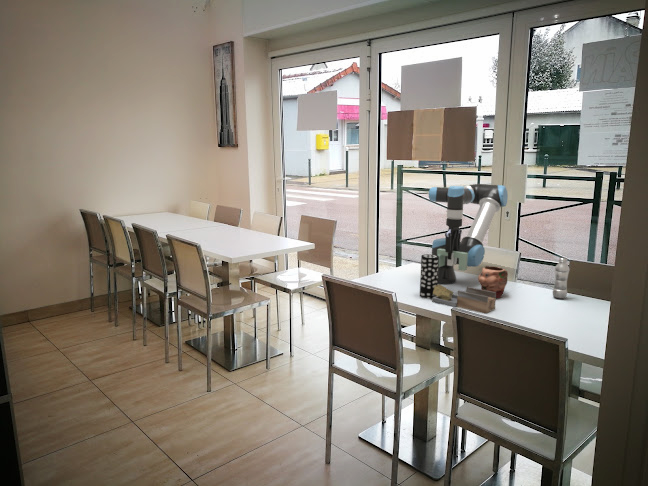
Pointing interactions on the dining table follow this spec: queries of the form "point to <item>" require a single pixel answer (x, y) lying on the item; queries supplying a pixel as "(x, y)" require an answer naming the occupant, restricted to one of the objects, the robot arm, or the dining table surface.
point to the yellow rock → (438, 290)
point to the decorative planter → (493, 280)
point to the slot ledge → (476, 300)
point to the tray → (449, 303)
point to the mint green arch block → (461, 255)
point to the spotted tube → (428, 275)
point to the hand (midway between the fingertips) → (451, 264)
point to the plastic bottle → (561, 278)
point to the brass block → (446, 294)
